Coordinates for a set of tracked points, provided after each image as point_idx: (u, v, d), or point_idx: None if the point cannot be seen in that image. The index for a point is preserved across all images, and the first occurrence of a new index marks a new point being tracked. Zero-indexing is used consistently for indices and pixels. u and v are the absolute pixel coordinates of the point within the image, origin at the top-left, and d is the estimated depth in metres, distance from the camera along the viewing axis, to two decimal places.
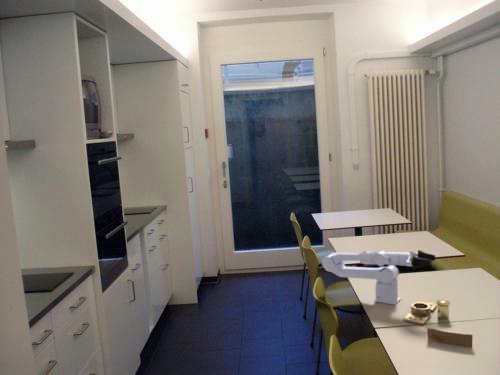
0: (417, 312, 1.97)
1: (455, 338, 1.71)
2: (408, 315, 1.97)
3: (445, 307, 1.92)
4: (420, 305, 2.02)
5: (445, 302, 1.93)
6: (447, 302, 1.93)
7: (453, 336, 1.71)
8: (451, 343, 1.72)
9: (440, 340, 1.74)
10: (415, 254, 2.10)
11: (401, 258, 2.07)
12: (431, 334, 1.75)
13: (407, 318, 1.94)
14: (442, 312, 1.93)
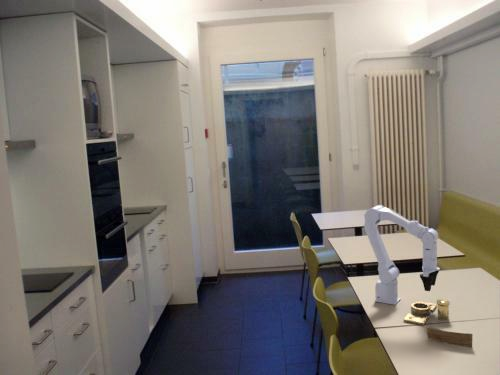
0: (417, 312, 1.97)
1: (455, 337, 1.71)
2: (408, 315, 1.97)
3: (445, 307, 1.92)
4: (420, 305, 2.02)
5: (445, 302, 1.93)
6: (447, 302, 1.93)
7: (453, 335, 1.72)
8: (451, 342, 1.72)
9: (439, 340, 1.75)
10: None
11: (430, 261, 1.99)
12: (431, 334, 1.76)
13: (407, 318, 1.94)
14: (442, 312, 1.93)
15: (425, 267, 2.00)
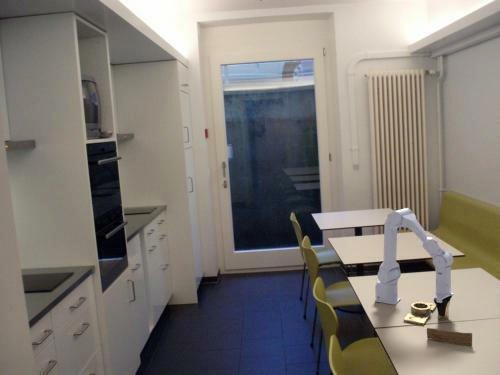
0: (417, 312, 1.97)
1: (455, 337, 1.72)
2: (408, 315, 1.97)
3: None
4: (420, 305, 2.02)
5: None
6: None
7: (452, 335, 1.72)
8: (451, 342, 1.73)
9: (439, 340, 1.75)
10: None
11: (444, 286, 1.90)
12: (431, 334, 1.76)
13: (407, 318, 1.94)
14: None
15: (438, 292, 1.92)
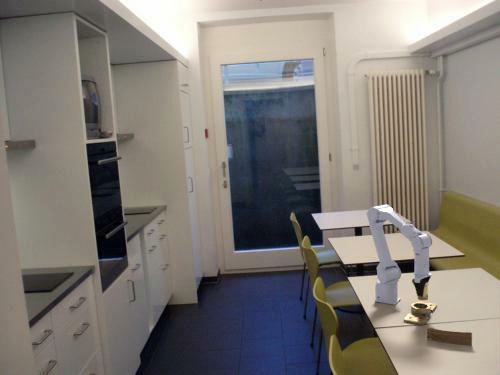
0: (417, 312, 1.97)
1: (455, 336, 1.72)
2: (408, 315, 1.97)
3: (424, 287, 1.96)
4: (420, 305, 2.02)
5: None
6: (426, 283, 1.97)
7: (452, 334, 1.72)
8: (451, 342, 1.73)
9: (439, 340, 1.75)
10: None
11: (422, 267, 1.94)
12: (430, 334, 1.76)
13: (407, 318, 1.94)
14: None
15: (417, 273, 1.96)
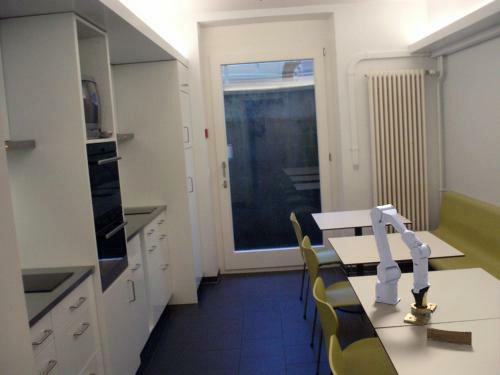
0: (417, 312, 1.97)
1: (455, 336, 1.73)
2: (408, 315, 1.97)
3: (423, 297, 1.97)
4: None
5: None
6: (425, 293, 1.98)
7: (452, 334, 1.73)
8: (451, 341, 1.73)
9: (439, 339, 1.75)
10: None
11: (421, 277, 1.95)
12: (430, 333, 1.76)
13: (407, 318, 1.94)
14: None
15: (416, 283, 1.97)
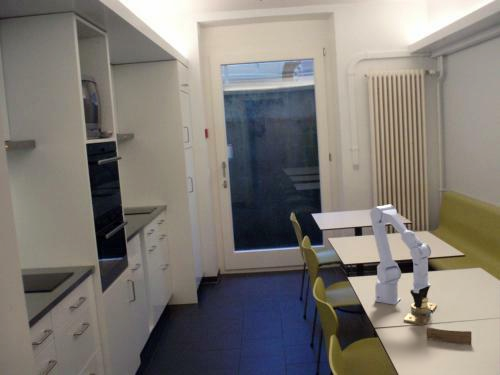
0: (417, 312, 1.97)
1: (455, 336, 1.73)
2: (408, 315, 1.97)
3: (424, 304, 1.97)
4: None
5: (424, 299, 1.98)
6: (426, 299, 1.98)
7: (452, 334, 1.73)
8: (450, 341, 1.74)
9: (439, 339, 1.75)
10: None
11: (421, 277, 1.95)
12: (430, 333, 1.76)
13: (407, 318, 1.94)
14: None
15: (416, 283, 1.97)
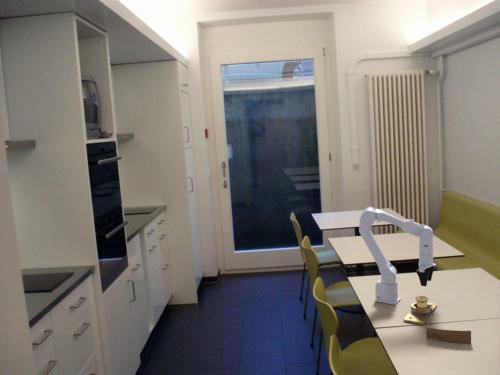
0: (417, 312, 1.97)
1: (454, 335, 1.73)
2: (408, 315, 1.97)
3: (424, 303, 1.97)
4: None
5: (424, 298, 1.98)
6: (426, 298, 1.98)
7: (452, 333, 1.73)
8: (450, 340, 1.74)
9: (439, 339, 1.75)
10: None
11: (426, 257, 2.05)
12: (430, 333, 1.76)
13: (407, 318, 1.94)
14: None
15: (421, 263, 2.06)
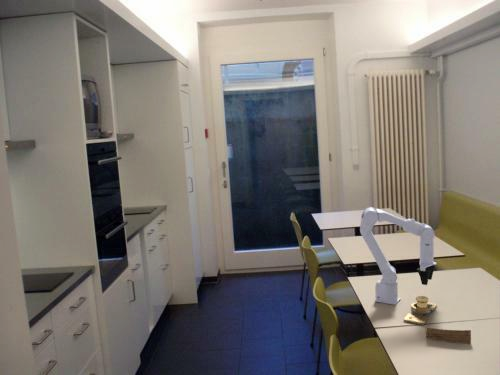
0: (417, 312, 1.97)
1: (454, 335, 1.73)
2: (408, 315, 1.97)
3: (424, 303, 1.97)
4: None
5: (424, 299, 1.98)
6: (426, 299, 1.98)
7: (452, 333, 1.74)
8: (450, 340, 1.74)
9: (438, 339, 1.76)
10: None
11: (427, 256, 2.06)
12: (430, 333, 1.76)
13: (407, 318, 1.94)
14: None
15: (422, 262, 2.08)
